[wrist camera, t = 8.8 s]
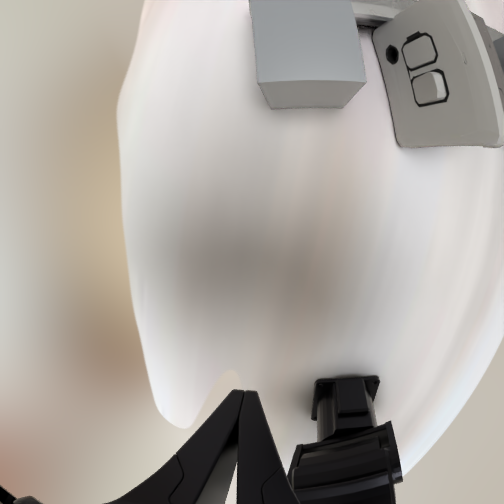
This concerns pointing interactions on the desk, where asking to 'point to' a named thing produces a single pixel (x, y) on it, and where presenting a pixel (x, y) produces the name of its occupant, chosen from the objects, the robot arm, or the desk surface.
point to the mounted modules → (311, 52)
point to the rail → (386, 12)
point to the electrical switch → (442, 76)
